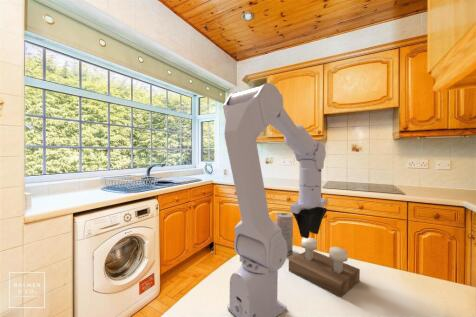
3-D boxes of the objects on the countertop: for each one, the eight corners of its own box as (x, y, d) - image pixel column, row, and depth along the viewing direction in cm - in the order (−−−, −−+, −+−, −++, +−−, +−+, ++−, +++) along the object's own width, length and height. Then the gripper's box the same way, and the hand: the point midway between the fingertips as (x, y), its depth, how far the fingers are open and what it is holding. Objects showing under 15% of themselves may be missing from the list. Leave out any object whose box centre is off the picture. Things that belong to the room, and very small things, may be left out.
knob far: (311, 264, 56) (311, 244, 56) (298, 258, 59) (298, 239, 59) (319, 259, 58) (320, 240, 58) (306, 254, 61) (307, 236, 61)
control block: (340, 297, 47) (340, 284, 47) (288, 270, 58) (288, 259, 58) (359, 281, 53) (359, 269, 53) (309, 259, 64) (309, 249, 64)
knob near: (342, 278, 49) (342, 255, 49) (326, 270, 53) (326, 249, 52) (350, 272, 52) (350, 251, 52) (334, 265, 55) (334, 245, 55)
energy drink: (291, 248, 71) (291, 212, 71) (293, 256, 66) (294, 217, 66) (274, 247, 72) (275, 212, 72) (276, 255, 67) (276, 216, 66)
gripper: (307, 190, 50) (307, 247, 51) (337, 184, 60) (336, 233, 60) (284, 186, 56) (283, 237, 56) (314, 182, 65) (313, 226, 65)
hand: (309, 235), depth 58 cm, fingers open, 4 cm apart
